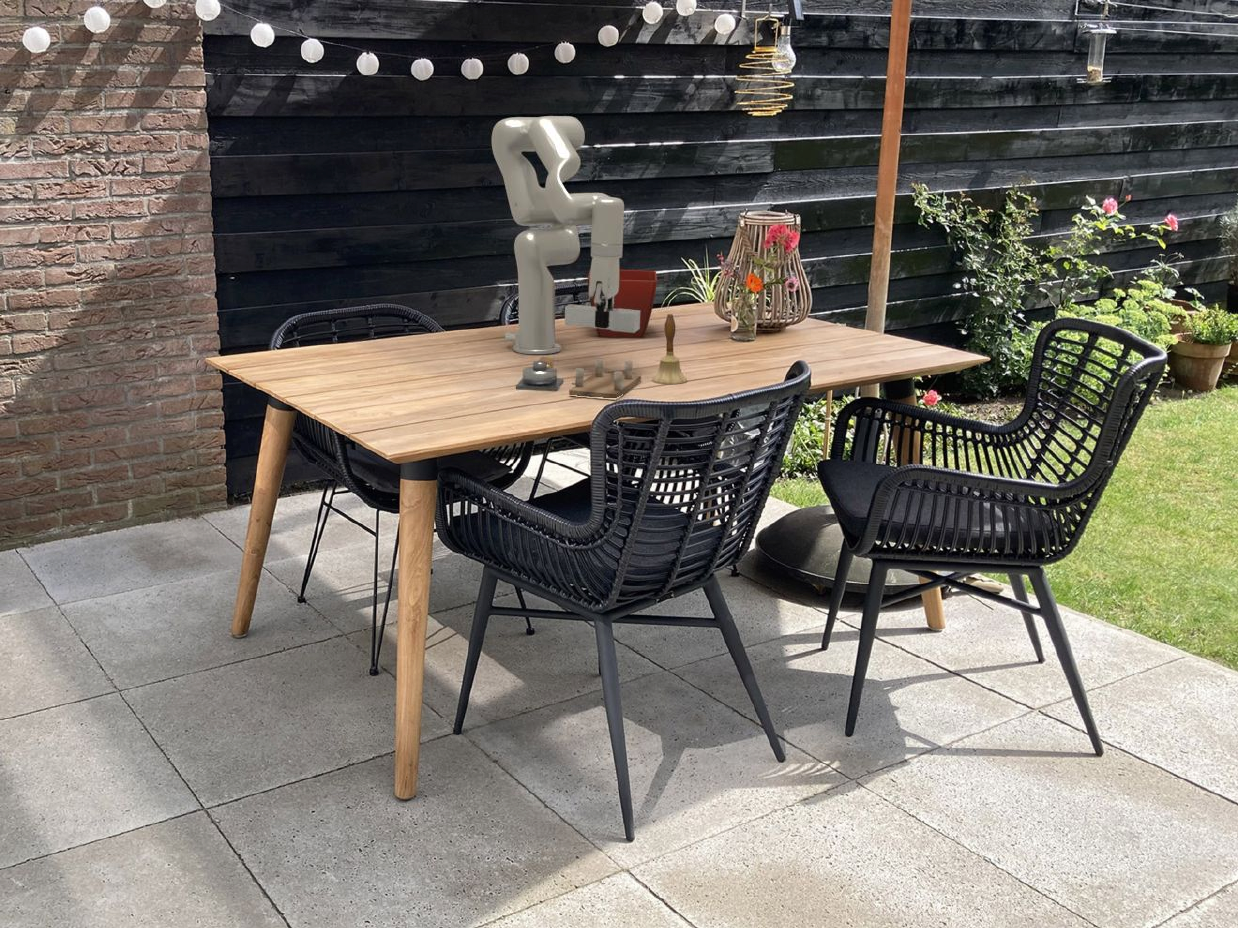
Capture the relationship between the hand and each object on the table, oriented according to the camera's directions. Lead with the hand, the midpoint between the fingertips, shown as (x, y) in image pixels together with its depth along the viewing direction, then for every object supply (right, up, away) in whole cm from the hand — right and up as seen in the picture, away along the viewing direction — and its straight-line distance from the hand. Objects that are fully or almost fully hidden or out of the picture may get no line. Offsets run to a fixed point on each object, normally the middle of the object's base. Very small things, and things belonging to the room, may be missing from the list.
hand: (603, 325), depth 303 cm
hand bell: (+16, -14, -5) cm, 22 cm away
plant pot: (+4, +3, +52) cm, 52 cm away
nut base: (-12, -15, -12) cm, 23 cm away
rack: (+1, -16, -14) cm, 22 cm away
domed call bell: (-14, -13, -10) cm, 22 cm away
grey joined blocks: (0, 0, 0) cm, 1 cm away
